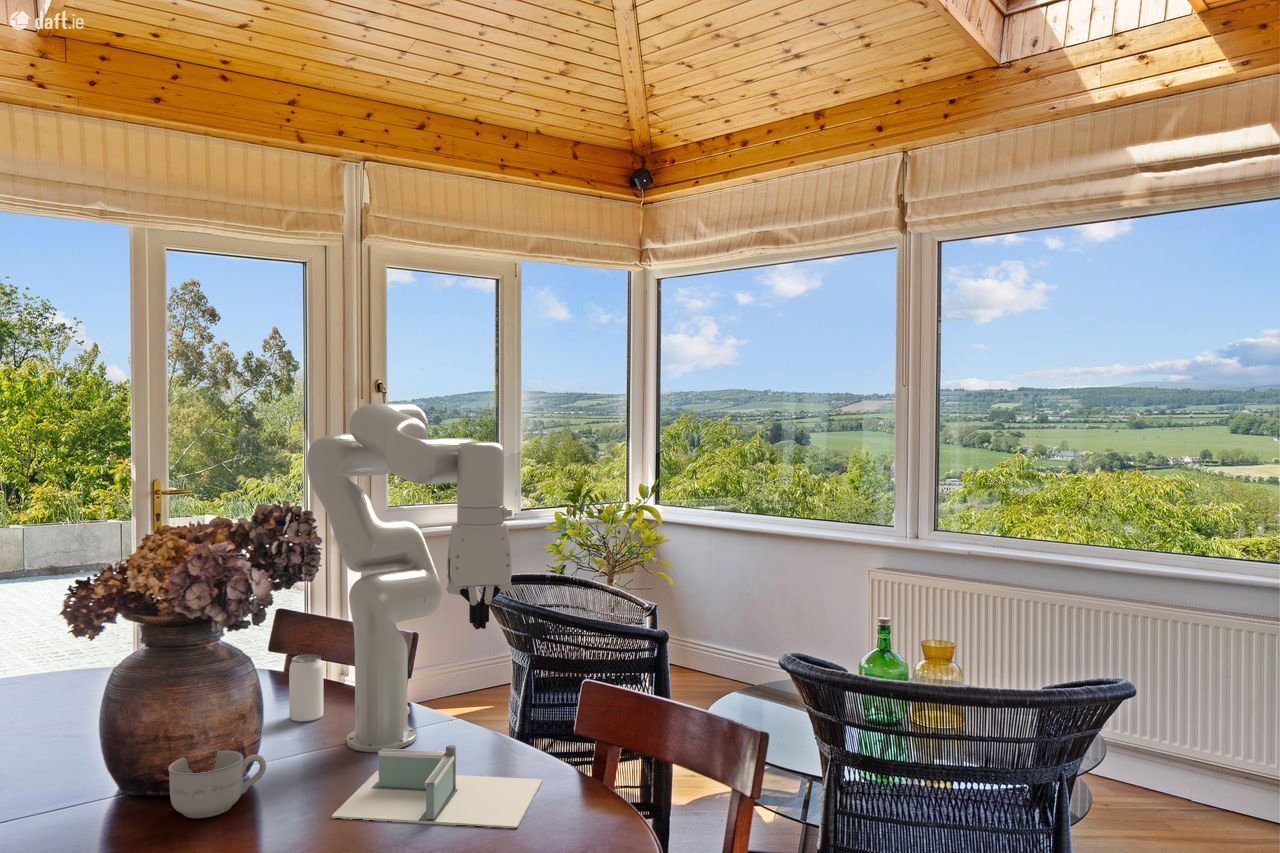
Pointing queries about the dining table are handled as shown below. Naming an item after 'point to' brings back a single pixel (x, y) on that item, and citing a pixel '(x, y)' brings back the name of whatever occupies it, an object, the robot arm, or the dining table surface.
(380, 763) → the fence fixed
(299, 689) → the can
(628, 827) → the dining table surface
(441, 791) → the pale open channel
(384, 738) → the robot arm
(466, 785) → the card
